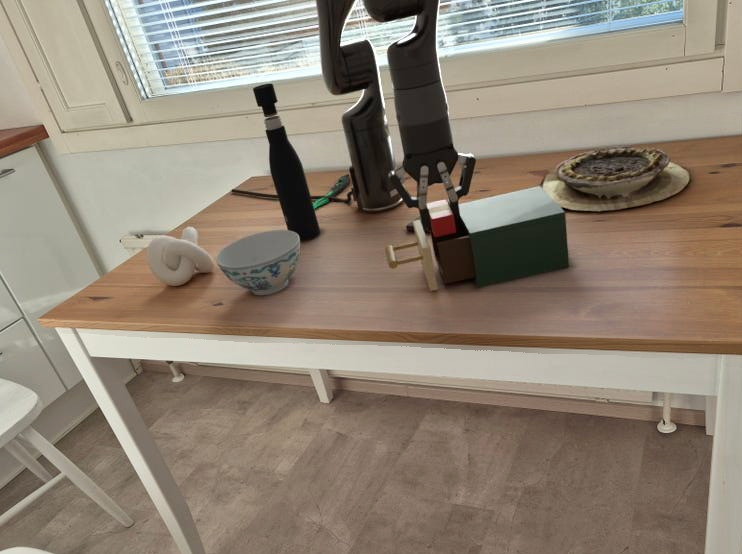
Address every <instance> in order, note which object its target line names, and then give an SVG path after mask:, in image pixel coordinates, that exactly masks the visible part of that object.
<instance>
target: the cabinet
mask: <svg viewBox="0 0 742 554" xmlns="http://www.w3.org/2000/svg"><path fill="white" fill-rule="evenodd" d="M458 204H459V211H460V219H461V221H462V223H463V225H464V227H465V229H466V231H467V232H468V234H469V236H470V242H471V249H472V256H473V262H474V269H475V275H476V277H473V278H472V279H473V280H474V282H475V284H476V286H477V288H481V287H482V288H483V287H485V286H490V285H491V286H492V285H495V284H498V283H499V284H500V283H503V282H507V281H513V280H517V279H521V278H526V277H530V276H534V275H538V274H543V273H549V272H552V271H558V270H561V269H566V268H570V261H569V260H570V259H569V247H568V233H567V218H566V211H565V210H564V209H563V207H560V206H559V205H558V204H557V203H556V202H555V201H554V200H553V199H552V198H551V197H550V196H549V195H548V194H547V193H546V192H545V191H544V190H543V189H542V188H541V187H540V186H539V185H537V186H533V187H529V188H525V189H519V190H516V191H511V192H507V193H503V194H502V193H501V194H498V195H493V196H489V197H485V198H480V199H476V200H472V201H466V202H463V203H458Z"/></svg>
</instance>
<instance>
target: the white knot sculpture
mask: <svg viewBox="0 0 742 554" xmlns="http://www.w3.org/2000/svg"><path fill="white" fill-rule="evenodd" d="M198 241H199V233H198V231H197V228H195V227H193V226H187V227H184V228H183V230H182V233H181V237H180V238H176V237H174V236H169V235H159V236H155V237H154V238H153V239H152V240H151V241H150V242H149V243H148V246H147V248H146V261H147V265H148V268H149V269H150V271H151V272H152V274H153V275H154V277H155V278H157V279H158V280H159V281H160V282H162V283H164V284H166V285H168V286H171V287H179V286H183V285H185V284H186V283H188V282H189V281H190V280H191V278H192V277H193V275H194V272H195V271H196V272H199V273H202V274H207V273H210V272H212V271H213V270H214V268H215V261H214V259H213V258H212V256H211V255H210V253H209V252H207V251H206V250H205V249H204V248H202V247H201V246H199V245H198Z"/></svg>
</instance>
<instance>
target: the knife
mask: <svg viewBox="0 0 742 554" xmlns="http://www.w3.org/2000/svg"><path fill="white" fill-rule="evenodd" d="M337 180H338V183H335V184H334V186H333V187H332V188H331V189H330V191H329V192H328V193H326V194H325V195H324V196H332V197H335V196H337V195H338V194H339V193H341V192H343V191H344V189H345V188H347V187H348V186H349V184H350V183H351V178H350V173H348V174H344V175H342V176H341V177H339V178H338V179H337ZM330 201H331V200H330V199H329V197H324V198H320V199H316V200H315V201H313V202H312V203H313V206H314V210H315V209H316V208H318V207H319V206H322V205H325V204H326V203H329V202H330Z"/></svg>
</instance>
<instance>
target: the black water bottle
mask: <svg viewBox="0 0 742 554" xmlns="http://www.w3.org/2000/svg"><path fill="white" fill-rule="evenodd" d="M252 91H253V95H254V98H255V101H256V105H257V107H259V108H261V110H262V113H263V117H264V118H265V119H264V120H263V121H264V122H263V124H264V125H265V135H266V138H267V142H268V146H269V147H268V163H269V172H270V175H271V179H272V183H273V185H274V188H275V192H276V195H278V198H277V199H278V202H279V206H280V208H281V213H282V216H283V218H284V222H285V225H286V230H288V231H293V232H295V233H297V234H298V235H299V238H300V243H301V242H307V241H309V240H312V239H314V238H316V237H318V236H319V235H320V234H321V229H320V225H319V221H318V218H317V217H318V216H317V214H316V210H315V209H314V206H313V203H314V202H313V199H311V196H312V195H311V191H310V188H309V185H308V181H307V178H306V174H305V170H304V167H303V163H302V161H301V158H300V157H299V155H298V153H297V151H296V149H295V148H294V146H293V145H292V143H291V142H290V140H289V138H288V134H287V131H286V127H285V125H283V121H282V118H281V115H278V111H277V110H278V109H277V107H276V104H277V103H278V98H277V97H278V96H277V93H276V90H275V87H274V84H273V83H264V84H260V85H257V86H254V87H252Z"/></svg>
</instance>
